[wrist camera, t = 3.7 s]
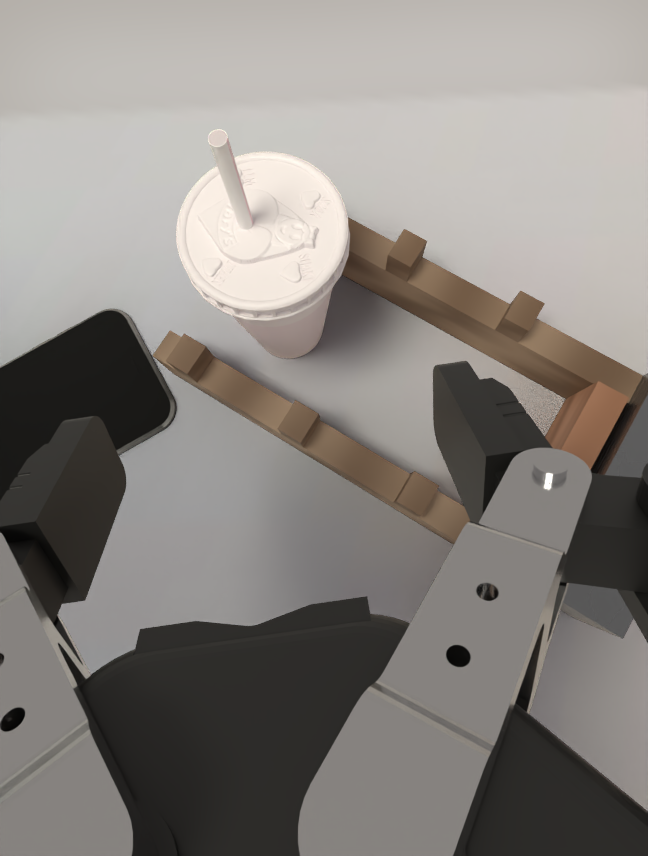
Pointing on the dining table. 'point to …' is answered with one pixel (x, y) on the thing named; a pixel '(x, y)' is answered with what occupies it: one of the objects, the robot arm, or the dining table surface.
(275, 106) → the dining table surface
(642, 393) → the block
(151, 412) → the smartphone
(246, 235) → the smoothie
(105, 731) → the robot arm
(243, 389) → the brown pegged rack
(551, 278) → the dining table surface
